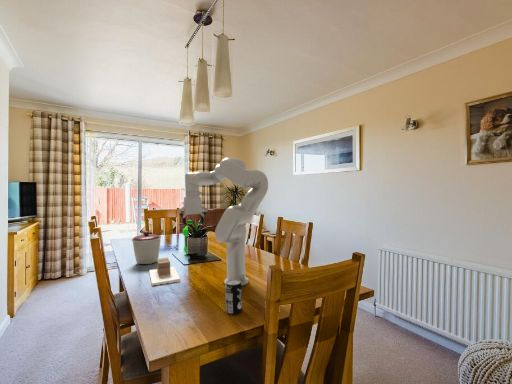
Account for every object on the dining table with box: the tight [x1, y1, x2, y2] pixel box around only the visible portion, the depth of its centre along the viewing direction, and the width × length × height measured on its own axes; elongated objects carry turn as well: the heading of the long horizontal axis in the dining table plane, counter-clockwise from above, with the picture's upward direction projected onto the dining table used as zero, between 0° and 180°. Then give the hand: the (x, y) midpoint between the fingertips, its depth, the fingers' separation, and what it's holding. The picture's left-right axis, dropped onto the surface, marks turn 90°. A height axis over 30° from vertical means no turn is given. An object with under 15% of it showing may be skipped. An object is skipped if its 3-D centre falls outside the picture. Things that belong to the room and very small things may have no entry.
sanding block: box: [156, 257, 171, 276], centre depth 154 cm, size 10×6×7 cm, turn 25°
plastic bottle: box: [182, 219, 194, 255], centre depth 200 cm, size 10×10×25 cm
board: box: [148, 266, 181, 287], centre depth 152 cm, size 24×14×2 cm, turn 24°
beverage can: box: [224, 279, 243, 316], centre depth 108 cm, size 7×7×12 cm
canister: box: [131, 230, 162, 265], centre depth 181 cm, size 18×18×21 cm
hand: (193, 224), depth 157 cm, fingers open, 9 cm apart
